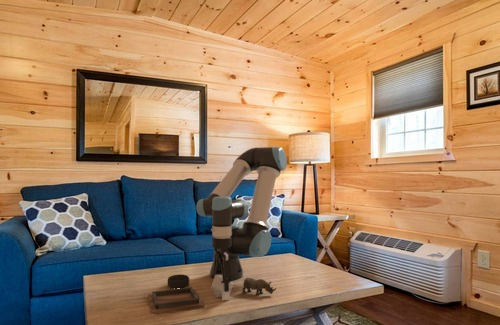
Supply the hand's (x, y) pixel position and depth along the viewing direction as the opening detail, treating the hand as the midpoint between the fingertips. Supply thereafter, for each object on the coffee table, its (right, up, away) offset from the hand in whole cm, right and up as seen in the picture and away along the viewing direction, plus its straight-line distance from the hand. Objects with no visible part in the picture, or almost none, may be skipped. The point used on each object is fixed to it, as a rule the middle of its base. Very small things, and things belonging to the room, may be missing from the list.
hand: (222, 295), depth 135 cm
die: (0, 0, 0) cm, 0 cm away
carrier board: (-17, 0, -6) cm, 18 cm away
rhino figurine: (+14, -1, +2) cm, 14 cm away
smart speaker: (-19, -1, +12) cm, 23 cm away
